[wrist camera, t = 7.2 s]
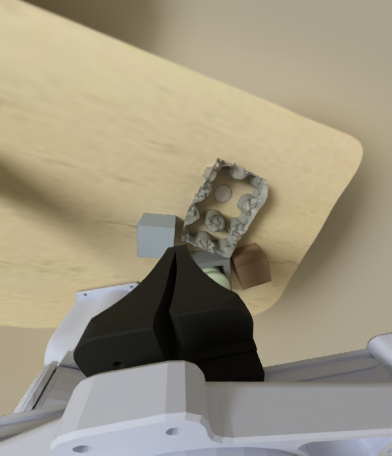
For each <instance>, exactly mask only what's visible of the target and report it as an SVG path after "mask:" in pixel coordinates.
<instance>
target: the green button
mask: <svg viewBox="0 0 392 456" xmlns="http://www.w3.org/2000/svg"><path fill="white" fill-rule="evenodd" d="M202 270H203V271H204V272H205V273H206V274H207V275H208V276H209V277H210V278H212V279H213V280H214V281H216V282H217V283H218V284H220V285H222V286H223V287H225V288H227V289H229V290H230V284H229V282H228V279H227V277H226V276H225V275H224V274H222V273H220V270H219V267H218V266H215V267H209V268H203V269H202Z"/></svg>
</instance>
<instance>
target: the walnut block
mask: <svg viewBox="0 0 392 456" xmlns="http://www.w3.org/2000/svg"><path fill="white" fill-rule="evenodd" d="M231 260H232V264H233V268H234V271H235V273H236V276H237V278H238V280H239V282H240V284H241V286H242V289H243V290H244V289H247V288H250V287H253V286H257V285H260V284H263V283H266V282H270V281H271V276H270V269H269V263H268V258H267V257H266V255H265V254H264V253H263V252H262V251H261V249H260V248H259V247H258V246H257V245H256V243H253V244H250V245H246V246H243V247H240V248H237V249H234V251H233V253H232V255H231Z"/></svg>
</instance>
